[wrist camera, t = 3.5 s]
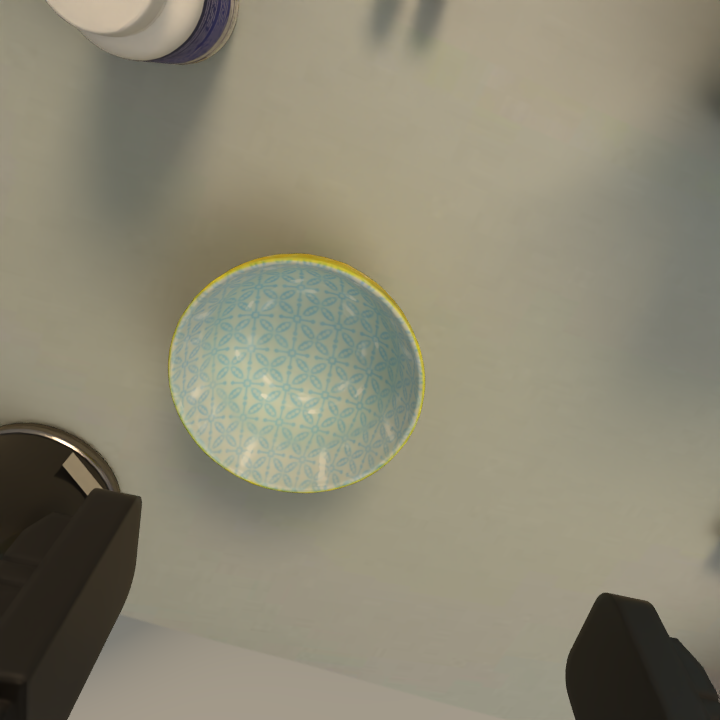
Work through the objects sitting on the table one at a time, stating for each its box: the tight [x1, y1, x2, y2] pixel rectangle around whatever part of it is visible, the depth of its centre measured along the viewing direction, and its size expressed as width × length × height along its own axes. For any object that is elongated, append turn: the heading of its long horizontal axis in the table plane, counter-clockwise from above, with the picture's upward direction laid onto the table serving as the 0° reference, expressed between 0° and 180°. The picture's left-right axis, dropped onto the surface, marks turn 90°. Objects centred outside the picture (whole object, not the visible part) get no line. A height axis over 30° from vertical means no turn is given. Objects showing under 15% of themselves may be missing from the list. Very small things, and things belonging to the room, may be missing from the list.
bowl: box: [168, 253, 425, 493], centre depth 31 cm, size 11×12×6 cm
